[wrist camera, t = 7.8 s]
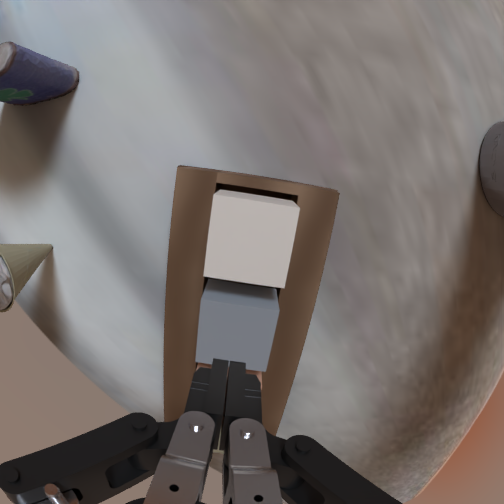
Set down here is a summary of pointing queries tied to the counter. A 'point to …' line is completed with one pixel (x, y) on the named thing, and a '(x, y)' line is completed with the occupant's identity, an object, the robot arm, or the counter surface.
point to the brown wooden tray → (193, 282)
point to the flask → (32, 76)
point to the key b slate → (237, 323)
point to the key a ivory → (250, 238)
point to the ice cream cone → (18, 269)
